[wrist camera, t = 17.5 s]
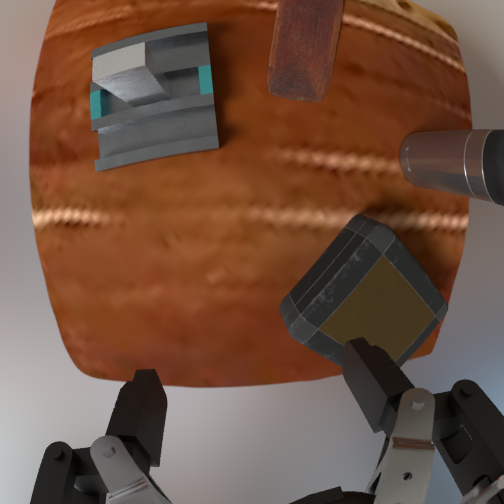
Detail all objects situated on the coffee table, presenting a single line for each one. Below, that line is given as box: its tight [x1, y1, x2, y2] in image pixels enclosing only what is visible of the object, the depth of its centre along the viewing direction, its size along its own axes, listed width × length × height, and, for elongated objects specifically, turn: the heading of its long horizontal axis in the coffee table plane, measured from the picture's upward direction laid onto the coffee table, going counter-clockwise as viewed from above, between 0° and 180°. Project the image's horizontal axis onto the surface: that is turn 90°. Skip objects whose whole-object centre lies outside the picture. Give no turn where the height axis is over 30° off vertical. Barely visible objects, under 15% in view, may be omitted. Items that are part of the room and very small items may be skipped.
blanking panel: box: [92, 42, 171, 107], centre depth 23 cm, size 5×2×13 cm, turn 96°
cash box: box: [279, 215, 448, 368], centre depth 40 cm, size 25×20×8 cm
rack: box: [90, 22, 219, 172], centre depth 29 cm, size 16×18×4 cm
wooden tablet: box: [267, 0, 343, 103], centre depth 29 cm, size 27×10×2 cm, turn 169°
